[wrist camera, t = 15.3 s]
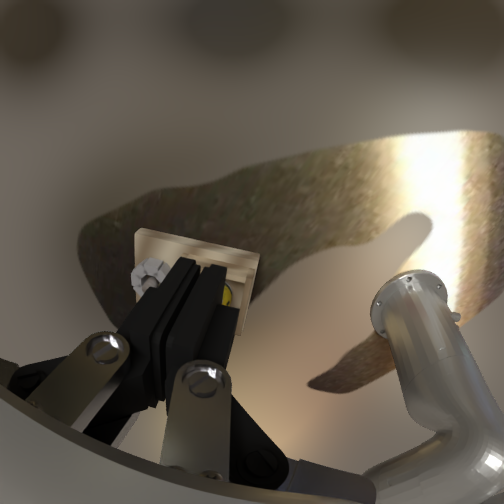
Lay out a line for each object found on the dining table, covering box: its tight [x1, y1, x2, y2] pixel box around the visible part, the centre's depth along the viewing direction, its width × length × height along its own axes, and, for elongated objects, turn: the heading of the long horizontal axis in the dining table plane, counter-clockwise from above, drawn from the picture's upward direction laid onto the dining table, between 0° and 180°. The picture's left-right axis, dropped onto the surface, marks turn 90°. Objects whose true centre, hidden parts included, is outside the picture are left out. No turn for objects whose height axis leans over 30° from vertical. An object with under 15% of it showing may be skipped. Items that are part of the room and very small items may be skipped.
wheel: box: [131, 257, 171, 297], centre depth 41 cm, size 6×6×2 cm
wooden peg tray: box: [135, 228, 260, 336], centre depth 41 cm, size 17×12×6 cm
